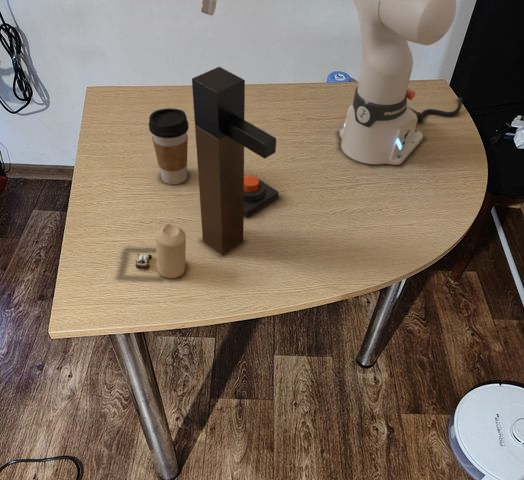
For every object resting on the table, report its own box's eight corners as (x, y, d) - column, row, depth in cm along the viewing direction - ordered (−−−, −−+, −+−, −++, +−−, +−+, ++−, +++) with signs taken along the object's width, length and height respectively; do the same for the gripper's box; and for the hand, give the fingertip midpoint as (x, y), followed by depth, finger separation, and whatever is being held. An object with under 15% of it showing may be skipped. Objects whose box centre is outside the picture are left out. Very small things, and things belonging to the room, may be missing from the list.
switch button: (250, 180, 123) (250, 173, 121) (262, 187, 121) (262, 181, 120) (239, 187, 121) (239, 180, 120) (250, 194, 120) (250, 188, 118)
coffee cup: (186, 190, 125) (181, 129, 113) (150, 184, 126) (141, 123, 114) (196, 168, 130) (192, 108, 118) (162, 163, 131) (154, 102, 119)
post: (223, 228, 118) (220, 112, 97) (243, 242, 115) (244, 126, 94) (202, 241, 115) (194, 125, 94) (222, 255, 112) (218, 139, 92)
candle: (161, 281, 107) (160, 242, 99) (153, 261, 110) (151, 222, 102) (188, 275, 109) (190, 236, 101) (179, 256, 112) (180, 217, 104)
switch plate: (253, 182, 128) (253, 169, 125) (278, 198, 124) (279, 185, 122) (221, 200, 123) (221, 187, 120) (247, 217, 120) (247, 204, 117)
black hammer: (220, 112, 97) (219, 66, 90) (282, 148, 91) (286, 101, 84) (194, 125, 94) (191, 78, 88) (257, 163, 88) (258, 116, 82)
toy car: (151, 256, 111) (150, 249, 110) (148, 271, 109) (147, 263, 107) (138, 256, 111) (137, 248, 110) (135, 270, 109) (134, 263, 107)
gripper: (276, -98, 70) (251, 22, 79) (125, -150, 70) (118, -24, 79) (264, -97, 65) (239, 31, 74) (103, -153, 66) (98, -19, 75)
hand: (176, 2), depth 77 cm, fingers open, 8 cm apart
